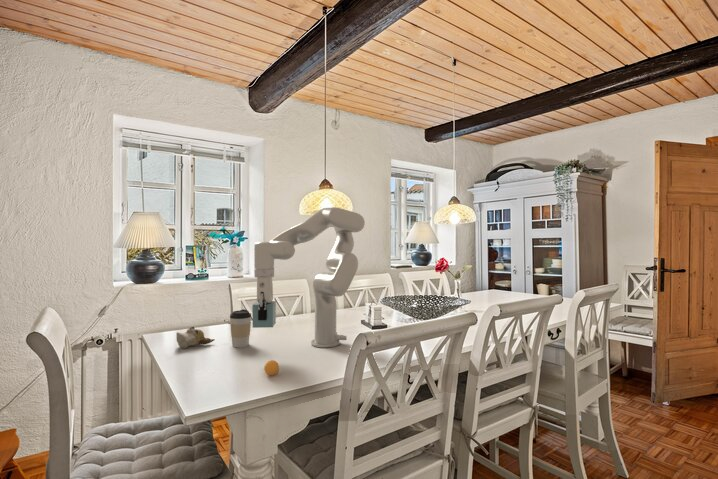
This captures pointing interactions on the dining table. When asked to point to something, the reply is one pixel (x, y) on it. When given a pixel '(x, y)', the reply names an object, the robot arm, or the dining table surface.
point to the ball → (271, 368)
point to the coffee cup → (240, 328)
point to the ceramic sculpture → (192, 338)
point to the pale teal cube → (270, 315)
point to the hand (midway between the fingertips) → (264, 317)
